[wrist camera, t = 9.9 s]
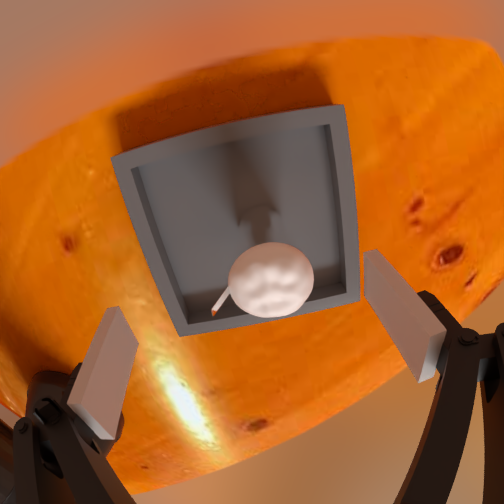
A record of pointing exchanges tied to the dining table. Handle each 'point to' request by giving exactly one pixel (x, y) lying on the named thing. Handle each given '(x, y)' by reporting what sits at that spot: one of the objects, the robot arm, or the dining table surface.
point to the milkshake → (267, 267)
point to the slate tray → (243, 208)
